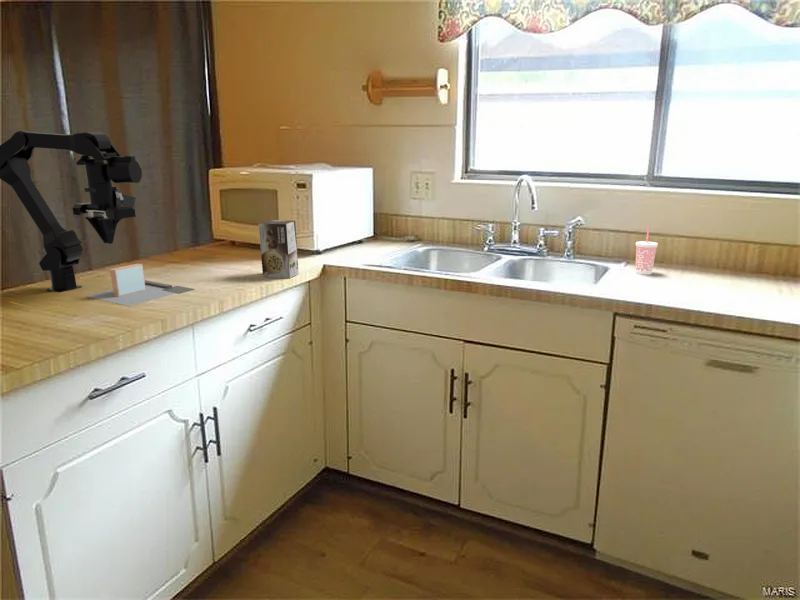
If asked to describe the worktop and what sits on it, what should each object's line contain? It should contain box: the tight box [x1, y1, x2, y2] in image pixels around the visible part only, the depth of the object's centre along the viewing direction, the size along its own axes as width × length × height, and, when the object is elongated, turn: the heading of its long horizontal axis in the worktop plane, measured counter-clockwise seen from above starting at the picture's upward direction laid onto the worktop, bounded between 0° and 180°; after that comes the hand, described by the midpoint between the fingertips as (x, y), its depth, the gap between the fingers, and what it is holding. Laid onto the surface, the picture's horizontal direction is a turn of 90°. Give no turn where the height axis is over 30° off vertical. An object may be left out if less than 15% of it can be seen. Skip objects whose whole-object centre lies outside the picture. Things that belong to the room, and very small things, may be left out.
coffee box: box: [257, 219, 299, 279], centre depth 173 cm, size 9×6×16 cm
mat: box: [85, 284, 177, 307], centre depth 155 cm, size 18×16×1 cm
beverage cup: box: [634, 225, 659, 275], centre depth 174 cm, size 6×6×14 cm
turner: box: [144, 279, 195, 295], centre depth 161 cm, size 19×5×1 cm, turn 59°
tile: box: [109, 263, 146, 297], centre depth 155 cm, size 2×8×7 cm, turn 149°
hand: (108, 243), depth 155 cm, fingers closed
